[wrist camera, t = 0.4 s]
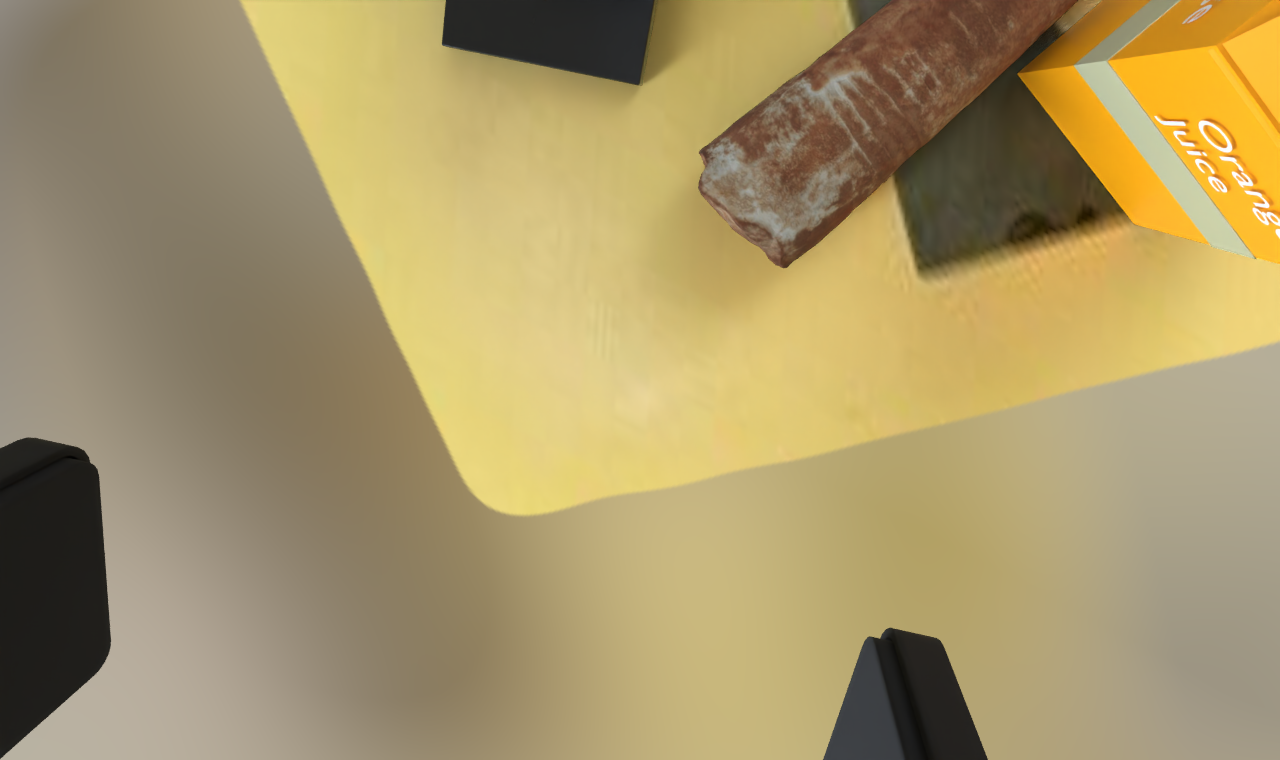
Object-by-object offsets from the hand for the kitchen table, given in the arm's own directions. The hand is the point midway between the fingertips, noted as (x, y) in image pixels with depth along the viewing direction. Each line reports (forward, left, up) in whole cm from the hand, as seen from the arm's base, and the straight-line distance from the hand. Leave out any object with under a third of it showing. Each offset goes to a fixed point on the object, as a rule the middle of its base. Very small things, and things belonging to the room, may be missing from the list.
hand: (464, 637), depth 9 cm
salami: (-10, +8, -30) cm, 33 cm away
